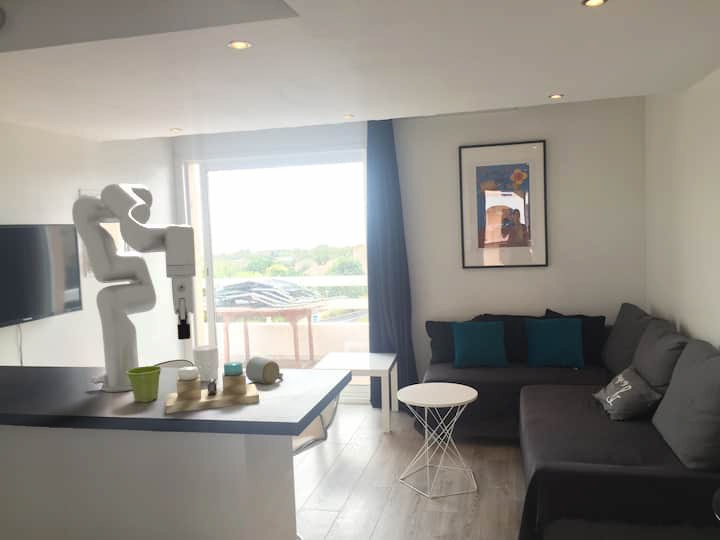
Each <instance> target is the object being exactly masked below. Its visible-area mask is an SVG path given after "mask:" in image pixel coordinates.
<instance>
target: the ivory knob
mask: <svg viewBox="0 0 720 540" xmlns="http://www.w3.org/2000/svg"><path fill="white" fill-rule="evenodd" d="M177 374H178V377H179V380H184V381H187V380H193V379H196V378H198V369H197V367H194V366H185V367H181V368H178V373H177Z"/></svg>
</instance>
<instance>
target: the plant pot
mask: <svg viewBox="0 0 720 540" xmlns="http://www.w3.org/2000/svg"><path fill="white" fill-rule="evenodd" d="M162 369H163V368H162V366H159V365H147V366H139V367H138V368H133V369H130V370H128V371H126V373H127V374H128V376H129V379H130V381H131V385H132V390H131V391H132V393H133V399H134V401H135V402H136V403H138V402H140V403H149V402H152V401H154V400H158V398H159V386H160V385H159V384H160V375H161V371H162Z"/></svg>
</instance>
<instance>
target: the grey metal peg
mask: <svg viewBox="0 0 720 540" xmlns="http://www.w3.org/2000/svg"><path fill="white" fill-rule="evenodd" d="M215 381H216V379H210V380H209V381H208V383H206V384H207V386H206V387H207V388H206V389H208V395H209V396H212V395H216V394H217V388H218V387H217V382H215Z"/></svg>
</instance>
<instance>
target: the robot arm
mask: <svg viewBox="0 0 720 540" xmlns="http://www.w3.org/2000/svg"><path fill="white" fill-rule="evenodd" d="M152 205H153V195H152V193H151V191H150V189H149V188H148V187H147V186H145V185H143V184H138V183H137V184H136V183H110V184H108V185H106V186H105V187H104V188H103V189H102V190H101V192H100V195H85V196H82V197H79V198H77V199H76V200H75V201H74V203H73V205H72V210H71V211H72V214H71V215H72V221H73V225H74V227H75V229H76V232H77V234H78V235H79V237H80V239H81V241H82V242H83V244H84V247H85V250H86V254H87V256H88V260H89V263H90V267H91V270H92V273H93V276H94V278H95V280H96V281H97V282H98V283H101V284H112V285H109V286H104V287H103V288H101V289H100V290H99V291H98V292H97V295H96V299H95V300H96V307H97V310H98V314H99V318H100V323H101V331H102V342H103V352H104V357H103V358H104V366H105V368H104V369H105V373H104V374H102V375H101V376H91V377H90V383H91V384H94V385H95V384H96V385H97V384H101V385H100V386H101V387H100V389H101V391H103V392H107V393H120V392H128V391H133V390H132V385H131V381H130V379H129V376H128V374H127V373H126V371H128V370H130V369H133V368H138V367H140V365H139V354H138V340H137V339H138V338H137V329H136V326H135V324H134V323H133V321H132V320H131V319H130V318H129V315H134V314H140V313H146V312H149V311H152V310H153V309H154V308H155V307H156V303H157V295H156V294H157V293H156V290H155V286H154V283H153V279H152V277H151V274H150V271H149V268H148V265H147V262H146V259H145V258H144V257H143V255H141V253H142V254H146V253H147V254H149V253H163V252H164V253H165V255H164V256H165V270H166V272H165V273H166V278H168V279H169V278H170V280H171V291H172V292H171V293H172V294H171V295H172V305H173V311H174V314H175V315H177V339H178V340H179V341H180V340H189V339H191V324H190V315H189V313H191V315H193V314H194V312H195V306H194V305H195V304H194V303H195V302H194V285H193V277H196V276H197V273H196V272H197V271H196V270H197V269H196V268H197V267H196V249H195V232H194V228H193V226H191V225H189V224H170V223H165V224H162V223H160V224H158V223H157V224H155V223H154V224H147V222H148V221H149V220H150V217H151V207H152ZM116 223H119V232H120V237H122V240H123V241H124V242H125V243H126V244H127V245H128V246H129V247H130V248H131V249H133V250H134V251H120V250H118V248H117V245H116V242H115V239H114V237H113V236H112V234H111V233H110V232H109V231H108V230H107V229H106V228H104V227H103V226H102V225H101V224H116ZM124 282H125V283H124ZM126 282H128V283H126ZM115 283H121V284H115Z"/></svg>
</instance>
